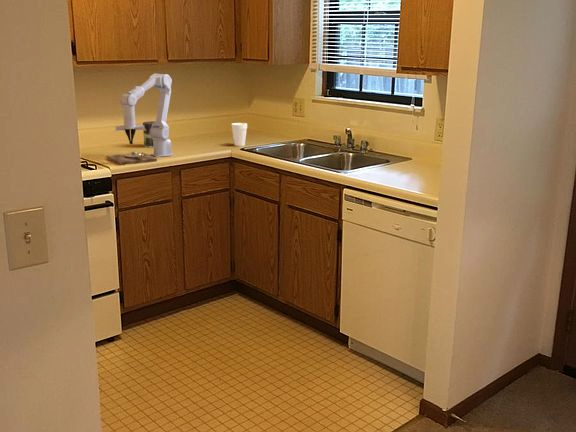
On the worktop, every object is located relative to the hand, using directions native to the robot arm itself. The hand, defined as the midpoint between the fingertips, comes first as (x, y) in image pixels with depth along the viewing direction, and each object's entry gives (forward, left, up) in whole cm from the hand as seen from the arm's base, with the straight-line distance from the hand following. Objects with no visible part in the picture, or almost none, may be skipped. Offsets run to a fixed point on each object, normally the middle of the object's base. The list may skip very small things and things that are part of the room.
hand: (131, 143), depth 322 cm
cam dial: (-3, -2, -8) cm, 8 cm away
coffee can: (-27, -37, -10) cm, 47 cm away
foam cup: (-73, -13, -10) cm, 75 cm away
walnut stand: (-1, -3, -9) cm, 10 cm away
